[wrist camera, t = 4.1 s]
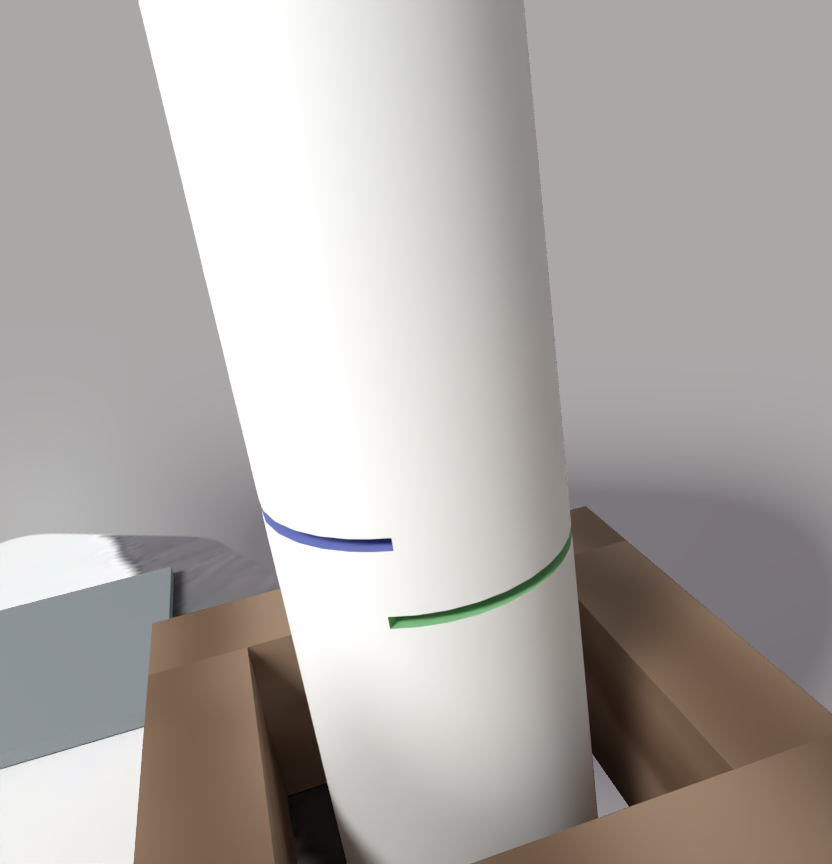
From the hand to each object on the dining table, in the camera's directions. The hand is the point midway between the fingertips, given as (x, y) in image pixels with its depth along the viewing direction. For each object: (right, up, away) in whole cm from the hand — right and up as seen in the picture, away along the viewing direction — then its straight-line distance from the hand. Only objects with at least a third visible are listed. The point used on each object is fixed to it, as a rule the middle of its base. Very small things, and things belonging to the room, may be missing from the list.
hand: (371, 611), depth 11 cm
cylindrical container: (+2, -10, +12) cm, 16 cm away
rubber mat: (-16, -8, +25) cm, 31 cm away
